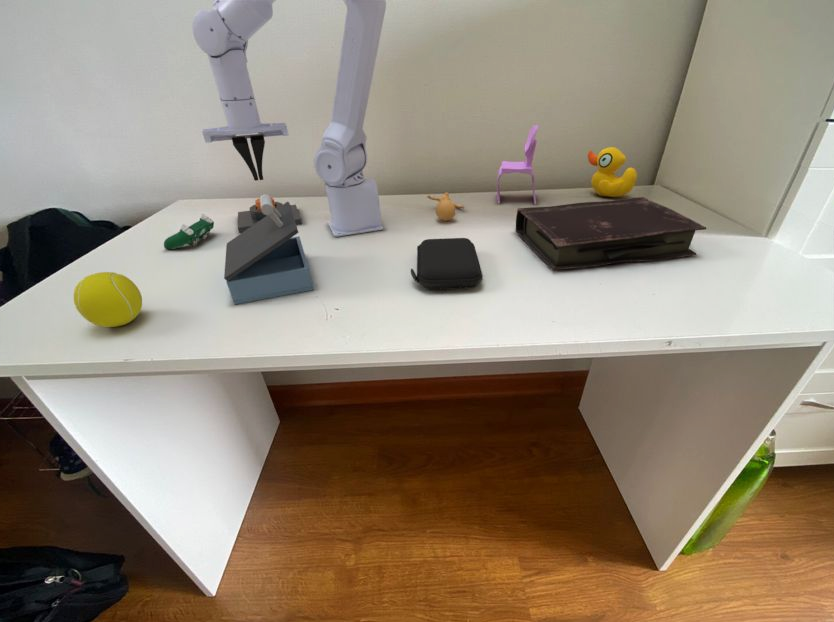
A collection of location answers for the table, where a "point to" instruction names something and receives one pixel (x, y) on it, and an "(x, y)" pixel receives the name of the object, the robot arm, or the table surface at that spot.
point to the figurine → (445, 207)
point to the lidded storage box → (273, 275)
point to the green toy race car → (190, 233)
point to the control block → (260, 216)
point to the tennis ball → (107, 299)
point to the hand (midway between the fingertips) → (258, 179)
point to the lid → (260, 237)
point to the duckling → (611, 173)
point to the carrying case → (447, 264)
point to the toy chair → (521, 166)
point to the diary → (605, 232)
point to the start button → (260, 205)
